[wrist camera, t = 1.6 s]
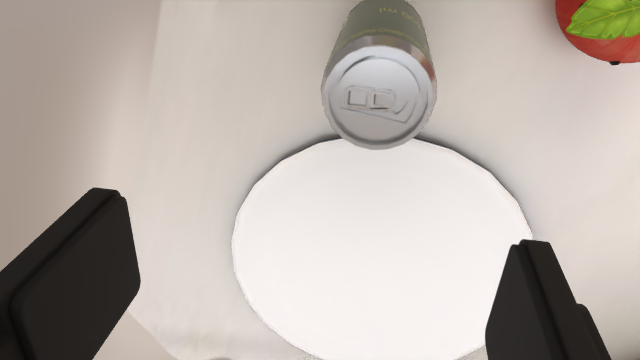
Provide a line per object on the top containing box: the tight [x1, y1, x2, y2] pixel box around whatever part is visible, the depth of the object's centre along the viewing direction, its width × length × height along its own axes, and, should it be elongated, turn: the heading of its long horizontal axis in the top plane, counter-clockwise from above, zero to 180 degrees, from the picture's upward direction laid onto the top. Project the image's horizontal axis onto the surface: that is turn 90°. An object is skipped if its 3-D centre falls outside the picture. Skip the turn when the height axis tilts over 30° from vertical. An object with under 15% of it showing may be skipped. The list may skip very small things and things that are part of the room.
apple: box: [556, 0, 640, 65], centre depth 25 cm, size 8×7×10 cm
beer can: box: [321, 0, 437, 150], centre depth 27 cm, size 5×5×12 cm
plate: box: [231, 138, 533, 360], centre depth 41 cm, size 25×25×1 cm
